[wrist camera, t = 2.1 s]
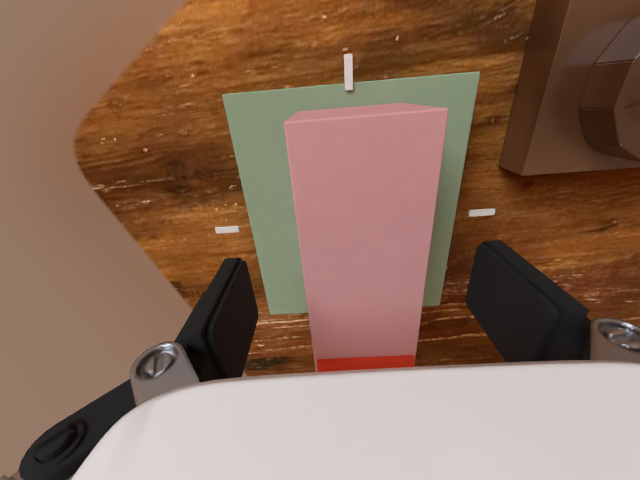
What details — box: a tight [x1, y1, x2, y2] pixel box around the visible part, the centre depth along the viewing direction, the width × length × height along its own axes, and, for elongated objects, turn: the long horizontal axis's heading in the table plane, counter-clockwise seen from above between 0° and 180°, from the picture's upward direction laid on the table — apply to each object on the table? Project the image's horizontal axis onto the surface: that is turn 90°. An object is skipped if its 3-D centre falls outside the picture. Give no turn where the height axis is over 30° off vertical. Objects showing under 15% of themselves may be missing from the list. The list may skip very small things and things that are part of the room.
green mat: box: [215, 54, 496, 315], centre depth 17 cm, size 16×16×2 cm
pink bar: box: [284, 103, 449, 372], centre depth 13 cm, size 12×5×6 cm, turn 4°
